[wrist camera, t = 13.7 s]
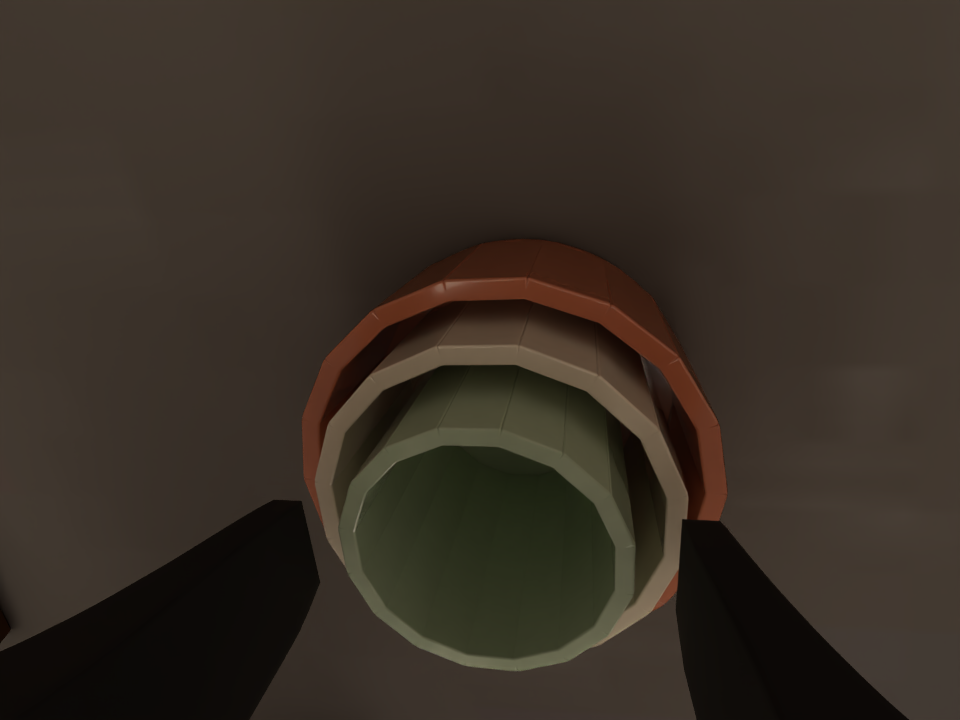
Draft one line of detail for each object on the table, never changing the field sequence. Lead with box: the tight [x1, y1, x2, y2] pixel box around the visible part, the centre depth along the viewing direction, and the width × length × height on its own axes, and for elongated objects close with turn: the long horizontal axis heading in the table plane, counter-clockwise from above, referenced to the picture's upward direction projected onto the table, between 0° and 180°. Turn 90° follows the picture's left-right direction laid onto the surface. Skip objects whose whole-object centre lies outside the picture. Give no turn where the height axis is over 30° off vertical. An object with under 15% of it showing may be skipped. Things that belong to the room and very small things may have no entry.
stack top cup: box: [315, 299, 689, 648], centre depth 14 cm, size 8×8×6 cm
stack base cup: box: [302, 239, 728, 612], centre depth 14 cm, size 10×10×5 cm
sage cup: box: [338, 365, 636, 672], centre depth 13 cm, size 6×6×7 cm
